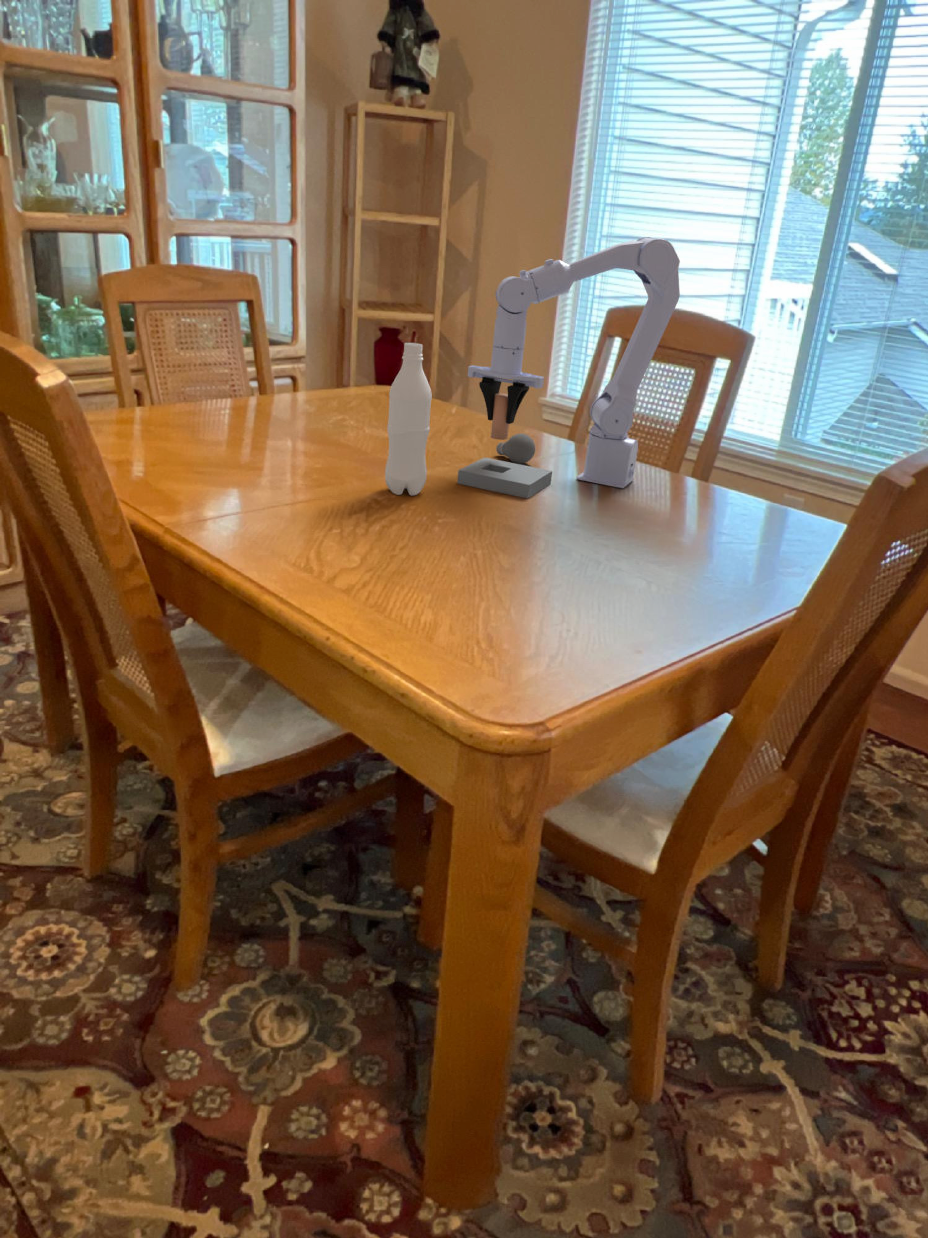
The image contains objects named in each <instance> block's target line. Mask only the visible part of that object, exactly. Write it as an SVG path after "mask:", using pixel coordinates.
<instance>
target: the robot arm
mask: <svg viewBox="0 0 928 1238" xmlns="http://www.w3.org/2000/svg"><path fill="white" fill-rule="evenodd" d="M680 263H681V261H680V258H679V256H678V254H677V252H676V250H675V247H674V246H673V244H672V243H671V242H670V241H668V240H666V239H665V238H664V239H663V238H653V237H650V236H644V237H640V238H638V239H637V240H634V239H632V240H628V241H624V242H623V241H622V242H621V243H617V244H616V243H615V244H614V245H612V246H609V247H607V248H605V249H601V250H600V251H598V252H594V253H592V254H590V255H588V256H585V257H582V258H580V259H578V260H577V259H576V260H575V261H573V262H570V263H566V262H565V261H562V260H560V259H556V260H554V259H552V258H549V259H547V260H545V261H544V264H543V265H541V266H538V267H535V268H533V269H532V268H531V269H529V270H527V271H526V269H522V270H519V277H518V276H514V275H513V276H512V275H511V276H507V277H505V278H504V279H502V280H501V281H500V282H499V284H498V286H497V289H496V291H495V292H494V293H495V299H496V301H497V303H498V305H497V308H496V312H495V313H496V318H495V320H494V328H493V329H494V331H493V332H494V333H493V339H492V340H493V342H492V351H491V361H490V362H491V363H490V366H480V365H469V366H468V367H467V377H468V378H478V379H481V381H479V383H478V384H479V385H478V386H479V389H480V390H481V393H482V396H483V399H484V403H485V408H486V415H487V420H488V421H492V419H493V409H494V399H495V394H500V389H501V386H502V383H507V384H510V385H508V386H507V388H506V391H507V394H508V409H507V417H506V423H507V424H509V425H511V424H514V423H515V420H516V415H517V413H518V410H519V407H520V405H521V403H522V401H523V400H524V398H525V396H526V394H527V393H528V392H529V390H530V388H534V389H538V390H539V389H542V388H544V383H545V382H544V380H545V376H541V375H535V374H532V373H527V372H523V371H522V370H523V369H522V368H523V360H524V350H525V341H526V333H527V313H528V309H529V308H530V306H531V305H532V304H534V305H537V304H540V303H542V302H545V301H547V300H550V299H553V298H555V297H558V296H561V295H564V294H566V293H569V291H570V289H571V288H572V285H573V284H574V283H575V282H578V281H581V280H583V279H584V280H585V279H586V278H590V277H593V276H596V275H600V274H602V273H605V272H609V271H611V270H615V269H622V270H629V271H633V272H634V273H635V275H636V276H637V277H638V278H639V280H641V281H642V282H641V283H642V284H643V287H644V290H645V292H646V295H647V296H648V297H647V300H646V302H645V305H644V307H643V310H642V312H641V314H640V316H639V318H638V321H637V323H636V325H635V328H634V329H633V332H632V333H631V336H630V339H629V341H628V343H627V346H626V347H625V350H624V353H623V355H622V357H621V359H620V360H619V361H620V362H619V364H618V366H617V368H616V370H615V372H614V373H613V374H614V375H613V377H612V379H611V380H610V382H609V381H608V382H609V383H607V385H606V386H605V387H604V389H603V391H602V393H601V394H600V395H599V396H598V397H597V398H596V399H595V400H594V401H593V402H592V404H591V407H590V412H589V414H590V418H591V420H592V423H593V424H592V426H591V428H590V429H589V434H588V441H587V447H586V448H587V449H586V454H585V462H584V467H583V472H581V473H580V474H578V475H577V476H576V480H578V481H579V480H580V481H585V482H589V483H595V484H599V485H603V486H608V487H612V488H613V487H614V488H620V489H624V488H625V487H627V486H628V485H629V484H630V483H632V482H633V481H634V475H635V468H636V462H637V456H638V450H639V447H638V446H639V442H638V440H637V439H634V438H630V437H628V432H629V431H630V430H631V429H632V425H633V423H634V422H633V421H634V418H633V417H634V415H633V414H634V410H635V408H636V405H637V396H638V395H637V394H638V390H639V388H640V385H641V383H642V381H643V378H644V376H645V374H646V373H647V370H648V368H649V365H650V363H651V362H652V359H653V357H654V354H655V353H656V350H657V348H658V346H659V343H660V342H661V340H662V337H663V335H664V332H665V330H666V329H667V326H668V324H669V322H670V320H671V317H672V315H673V313H674V311H675V309H676V306H677V304H679V303H678V302H679V301H680V297H681V296H680V295H681V294H680V277H679V268H680ZM511 384H512V385H511Z"/></svg>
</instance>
